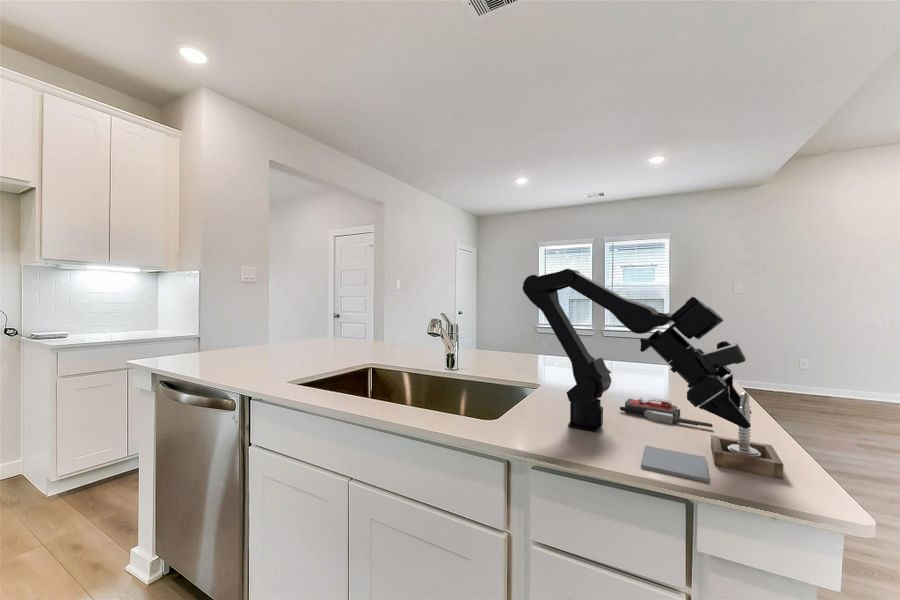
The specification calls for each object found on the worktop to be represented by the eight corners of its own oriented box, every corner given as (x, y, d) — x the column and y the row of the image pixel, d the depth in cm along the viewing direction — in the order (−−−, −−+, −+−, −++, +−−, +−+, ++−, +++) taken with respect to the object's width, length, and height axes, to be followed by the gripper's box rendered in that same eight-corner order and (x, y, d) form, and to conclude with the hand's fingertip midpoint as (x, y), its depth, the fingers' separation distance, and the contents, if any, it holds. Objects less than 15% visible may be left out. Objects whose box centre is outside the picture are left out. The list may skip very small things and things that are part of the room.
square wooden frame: (714, 465, 68) (714, 451, 67) (710, 447, 76) (711, 435, 76) (783, 479, 63) (783, 464, 63) (771, 458, 71) (771, 445, 71)
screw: (766, 464, 68) (750, 469, 66) (737, 454, 72) (721, 458, 70) (767, 393, 68) (751, 396, 66) (738, 387, 72) (722, 390, 70)
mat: (640, 467, 66) (640, 464, 66) (645, 448, 75) (645, 445, 75) (709, 482, 61) (709, 479, 61) (705, 460, 70) (705, 456, 70)
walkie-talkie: (617, 416, 96) (712, 433, 85) (617, 399, 96) (712, 413, 84) (624, 407, 103) (712, 422, 92) (624, 392, 103) (713, 404, 92)
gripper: (709, 331, 65) (795, 407, 58) (718, 325, 79) (788, 385, 72) (658, 371, 70) (731, 445, 63) (675, 358, 84) (736, 417, 77)
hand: (749, 420), depth 69 cm, fingers open, 9 cm apart
